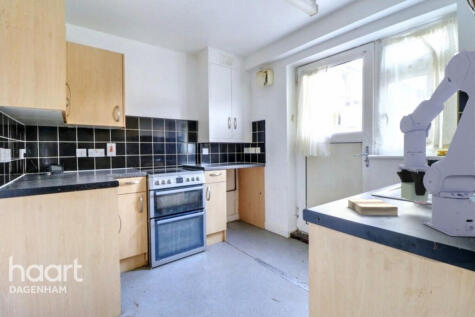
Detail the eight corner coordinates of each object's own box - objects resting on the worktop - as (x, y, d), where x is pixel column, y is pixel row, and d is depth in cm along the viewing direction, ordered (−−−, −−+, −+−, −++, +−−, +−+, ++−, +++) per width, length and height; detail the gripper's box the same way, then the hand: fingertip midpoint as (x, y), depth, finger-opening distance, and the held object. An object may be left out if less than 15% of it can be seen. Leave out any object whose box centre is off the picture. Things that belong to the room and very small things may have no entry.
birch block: (397, 216, 72) (397, 207, 72) (361, 216, 73) (361, 207, 73) (379, 207, 83) (379, 199, 83) (348, 207, 84) (348, 199, 84)
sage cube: (427, 200, 71) (428, 185, 71) (411, 200, 71) (411, 185, 71) (416, 197, 76) (416, 182, 75) (401, 197, 76) (401, 182, 76)
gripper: (446, 152, 65) (445, 198, 66) (412, 151, 80) (411, 189, 80) (420, 152, 66) (420, 198, 66) (391, 152, 80) (391, 189, 81)
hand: (414, 193), depth 73 cm, fingers closed on sage cube, 5 cm apart
